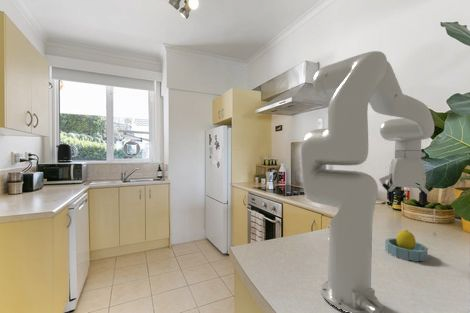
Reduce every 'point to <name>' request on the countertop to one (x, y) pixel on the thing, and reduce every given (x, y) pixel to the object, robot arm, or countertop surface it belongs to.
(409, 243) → the lemon
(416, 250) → the bowl
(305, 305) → the countertop surface
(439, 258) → the countertop surface
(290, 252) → the countertop surface
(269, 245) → the countertop surface
